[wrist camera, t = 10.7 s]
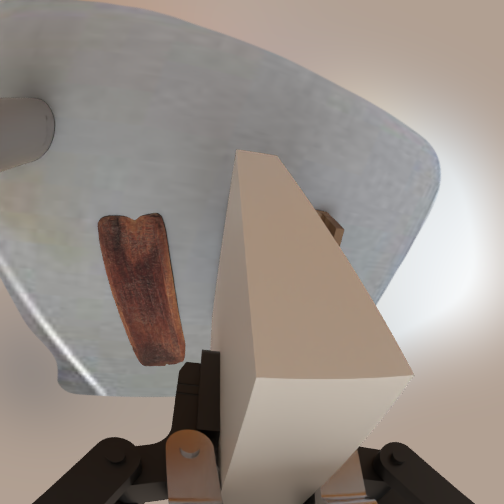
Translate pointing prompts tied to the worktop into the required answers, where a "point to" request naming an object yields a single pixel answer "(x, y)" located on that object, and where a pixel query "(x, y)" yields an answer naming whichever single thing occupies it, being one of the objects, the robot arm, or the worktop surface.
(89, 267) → the worktop surface
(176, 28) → the worktop surface
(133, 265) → the wooden tablet
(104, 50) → the worktop surface
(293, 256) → the cutting board
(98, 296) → the worktop surface
